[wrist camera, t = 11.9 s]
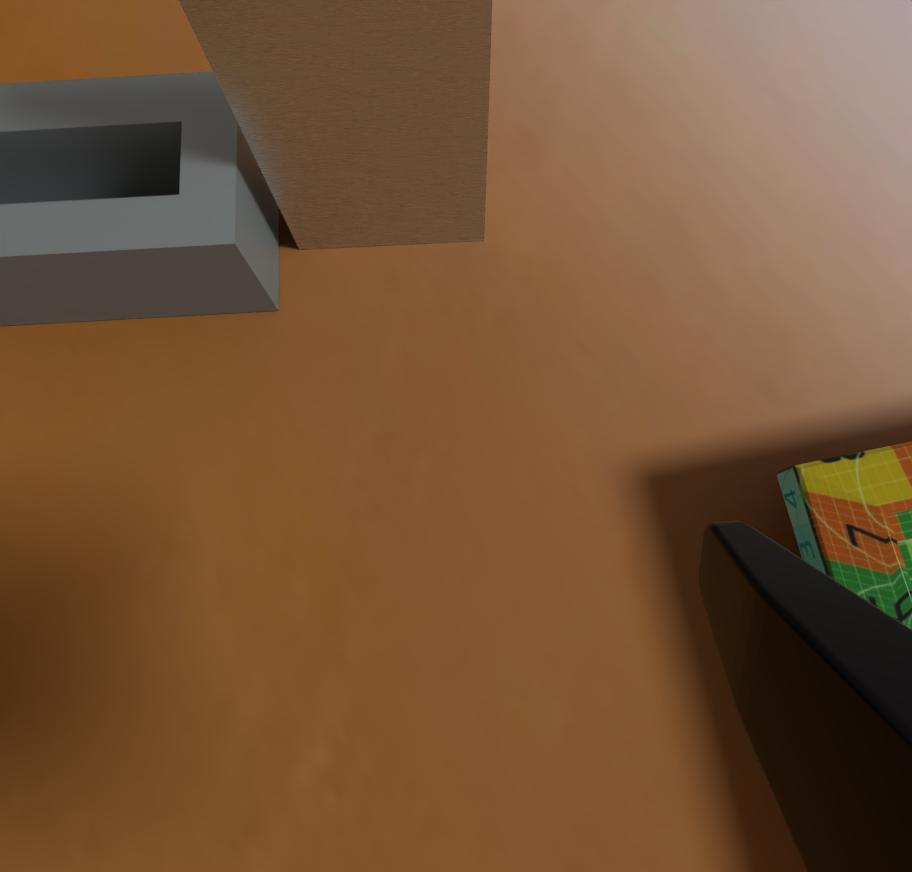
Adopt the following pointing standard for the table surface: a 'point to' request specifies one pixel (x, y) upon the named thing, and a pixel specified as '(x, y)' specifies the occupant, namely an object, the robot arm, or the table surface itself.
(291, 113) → the cover plate
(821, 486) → the puzzle game
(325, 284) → the table surface
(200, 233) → the slot box
